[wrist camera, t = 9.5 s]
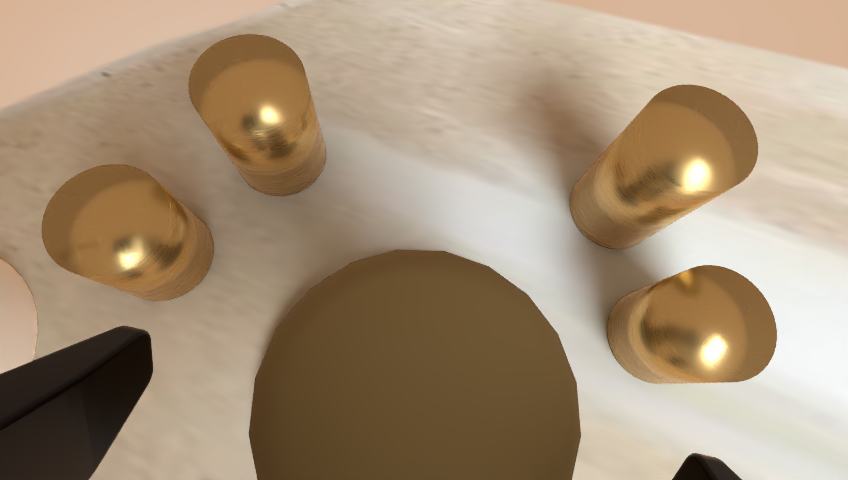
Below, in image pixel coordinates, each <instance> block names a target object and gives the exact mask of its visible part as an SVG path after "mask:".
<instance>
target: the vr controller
mask: <svg viewBox="0 0 848 480" xmlns="http://www.w3.org/2000/svg"><path fill="white" fill-rule="evenodd" d="M37 336H38V322H37V311H36V307H35V303H34V300H33V296H32V294H31V292H30V290H29V288H28V286H27V285H26V283H25V281H24V279H23V278H22V277H21V276H20V275H19V274H18V273H17V272H16V271H15V270H14V269H13V267H12V266H11V265H9V264H8V263H6V262H4V261H3V260H1V259H0V374H1V373H4V372H6V371H9V370H11V369H14V368H16V367H19V366H21V365H24V364H26V363H29V362H31V361H32V359H33V357H34V353H35V347H36V342H37Z"/></svg>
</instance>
